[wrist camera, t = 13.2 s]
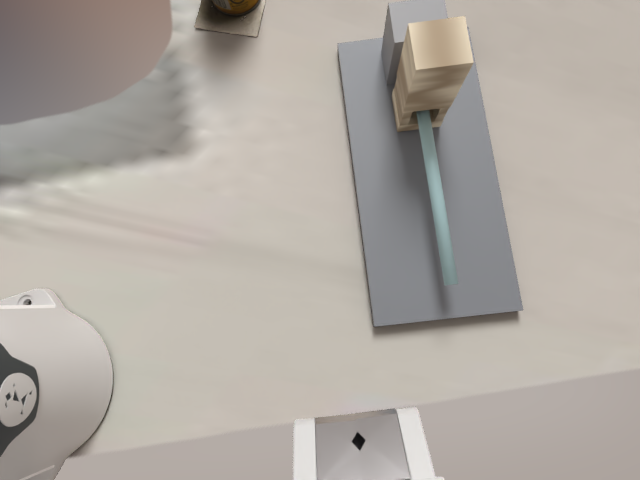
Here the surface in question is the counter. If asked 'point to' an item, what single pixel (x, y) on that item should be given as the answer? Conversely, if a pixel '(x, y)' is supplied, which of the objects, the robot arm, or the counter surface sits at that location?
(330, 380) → the counter surface
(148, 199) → the counter surface
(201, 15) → the condiment
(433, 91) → the notched wooden block
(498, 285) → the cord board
